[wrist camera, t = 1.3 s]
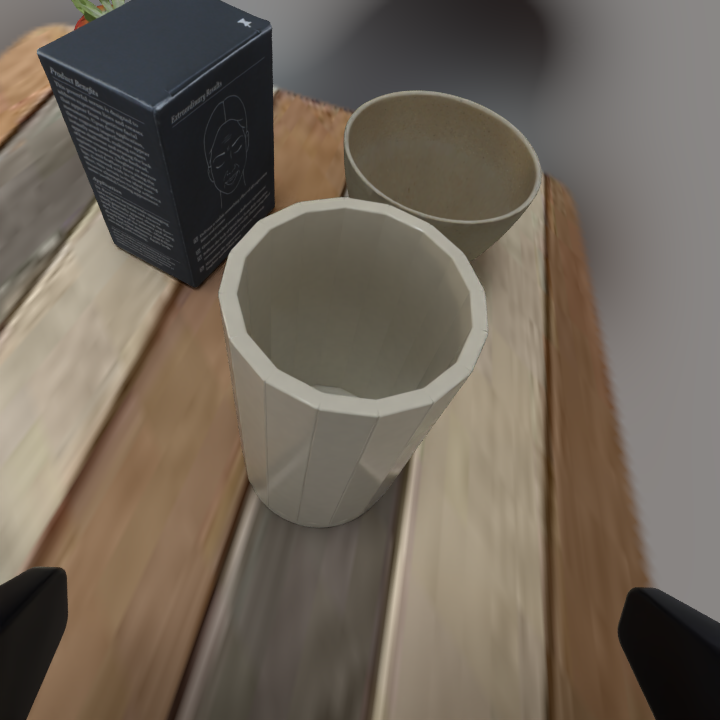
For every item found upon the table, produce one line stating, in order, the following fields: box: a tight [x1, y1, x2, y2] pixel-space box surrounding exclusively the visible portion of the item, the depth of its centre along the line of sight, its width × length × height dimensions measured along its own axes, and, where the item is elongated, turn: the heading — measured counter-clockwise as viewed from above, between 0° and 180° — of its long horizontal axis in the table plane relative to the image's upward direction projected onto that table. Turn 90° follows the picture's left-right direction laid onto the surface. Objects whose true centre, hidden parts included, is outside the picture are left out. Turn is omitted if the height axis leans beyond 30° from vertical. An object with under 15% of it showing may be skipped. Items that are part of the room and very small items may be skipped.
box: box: [37, 0, 275, 287], centre depth 24 cm, size 8×6×11 cm
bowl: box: [344, 91, 542, 262], centre depth 27 cm, size 10×10×7 cm
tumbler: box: [218, 197, 488, 528], centre depth 18 cm, size 7×7×12 cm
